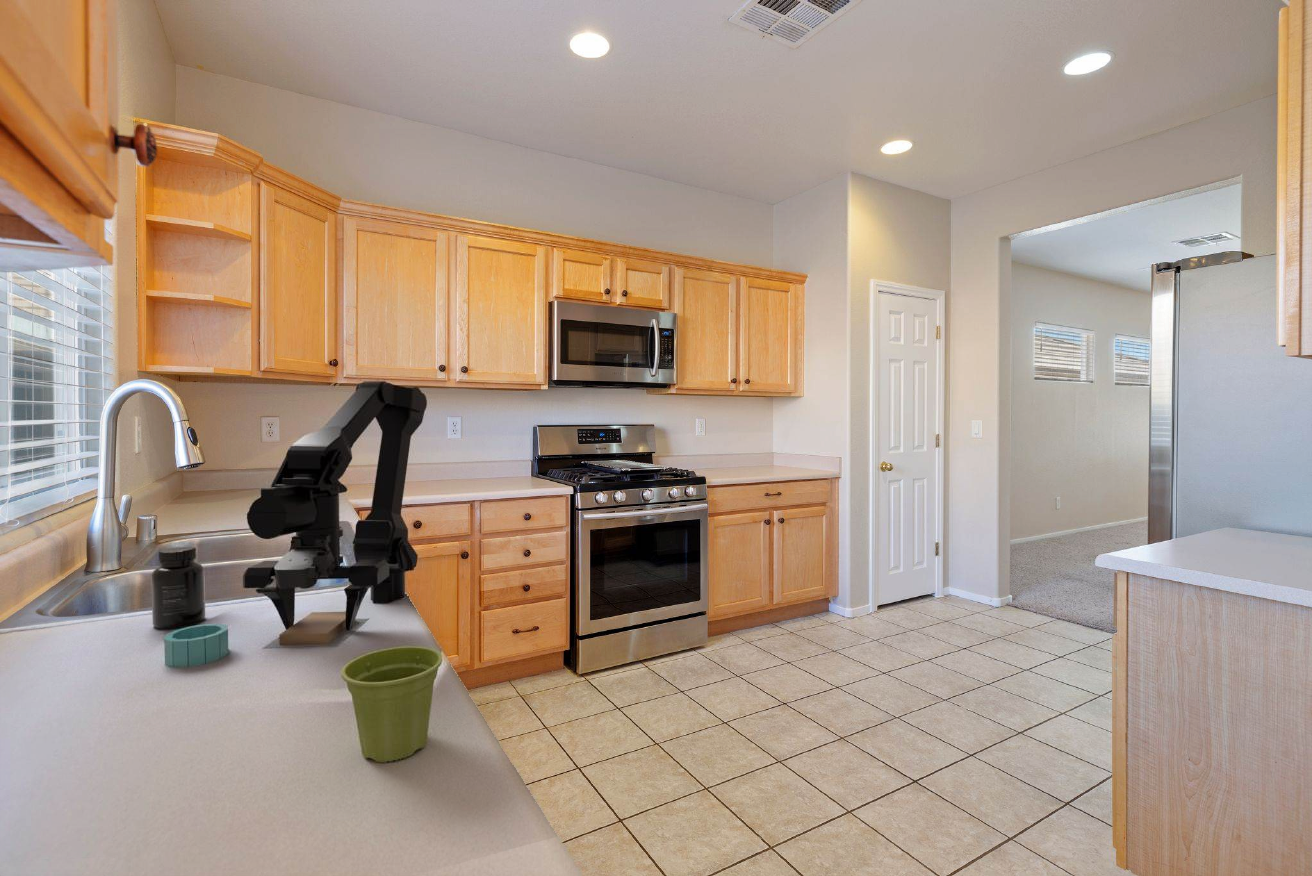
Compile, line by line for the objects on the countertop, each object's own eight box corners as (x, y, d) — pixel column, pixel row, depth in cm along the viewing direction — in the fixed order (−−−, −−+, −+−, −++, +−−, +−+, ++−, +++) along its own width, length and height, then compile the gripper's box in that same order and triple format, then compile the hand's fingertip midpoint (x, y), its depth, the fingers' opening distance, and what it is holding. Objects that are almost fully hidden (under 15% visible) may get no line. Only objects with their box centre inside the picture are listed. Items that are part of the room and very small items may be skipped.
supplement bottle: (216, 616, 104) (214, 545, 104) (181, 630, 97) (179, 554, 97) (178, 615, 105) (176, 544, 104) (140, 629, 98) (138, 553, 98)
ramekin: (187, 656, 87) (186, 624, 87) (239, 655, 88) (238, 623, 87) (152, 676, 80) (151, 642, 80) (208, 674, 81) (208, 640, 81)
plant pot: (339, 783, 57) (338, 689, 57) (345, 735, 66) (344, 653, 65) (447, 760, 61) (446, 673, 61) (439, 718, 69) (438, 640, 69)
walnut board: (312, 621, 98) (312, 612, 98) (355, 620, 99) (355, 611, 98) (279, 645, 88) (279, 634, 88) (327, 643, 89) (327, 633, 89)
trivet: (303, 627, 99) (303, 620, 99) (369, 625, 100) (369, 618, 100) (262, 656, 87) (262, 648, 87) (337, 654, 88) (337, 646, 88)
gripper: (218, 537, 84) (220, 652, 84) (362, 535, 86) (363, 648, 86) (263, 523, 95) (264, 625, 96) (389, 522, 97) (391, 622, 97)
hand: (319, 630), depth 93 cm, fingers open, 8 cm apart
